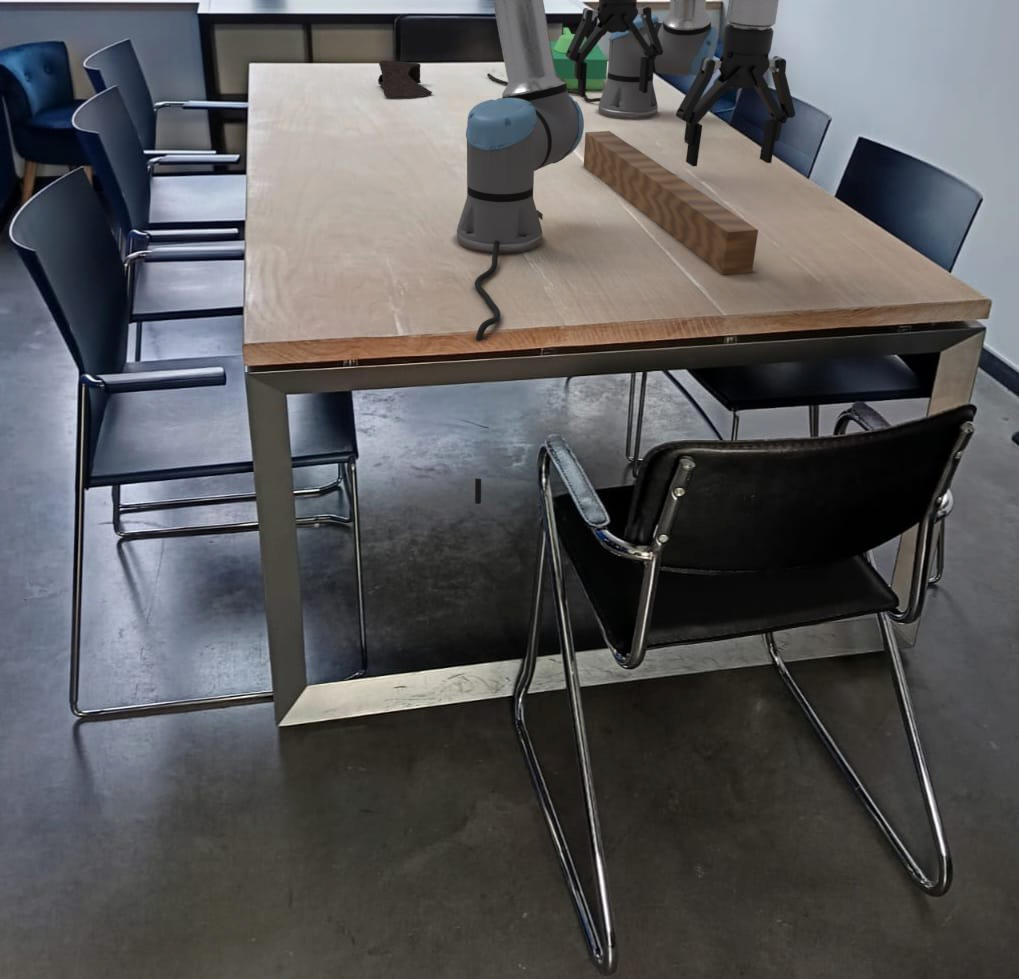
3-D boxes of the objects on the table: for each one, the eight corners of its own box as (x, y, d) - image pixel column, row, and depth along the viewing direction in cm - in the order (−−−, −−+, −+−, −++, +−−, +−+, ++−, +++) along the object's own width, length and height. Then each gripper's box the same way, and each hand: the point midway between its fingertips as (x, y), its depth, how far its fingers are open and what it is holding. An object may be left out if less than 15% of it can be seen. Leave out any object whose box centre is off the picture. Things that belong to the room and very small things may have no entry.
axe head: (443, 87, 294) (392, 77, 287) (436, 115, 299) (385, 106, 292) (421, 62, 307) (371, 52, 300) (414, 89, 311) (365, 80, 304)
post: (752, 272, 185) (758, 229, 181) (722, 274, 183) (728, 232, 179) (607, 165, 240) (609, 130, 236) (583, 166, 239) (585, 132, 235)
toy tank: (594, 24, 327) (608, 45, 298) (591, 67, 334) (605, 92, 304) (535, 23, 327) (543, 44, 297) (533, 66, 333) (541, 91, 303)
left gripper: (808, 20, 176) (784, 153, 187) (666, 21, 169) (650, 158, 181) (833, 29, 170) (806, 166, 181) (686, 30, 163) (668, 172, 175)
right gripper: (565, -14, 208) (561, 101, 219) (685, -19, 214) (675, 93, 226) (552, -20, 214) (549, 92, 225) (669, -24, 220) (660, 85, 232)
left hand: (728, 162), depth 181 cm, fingers open, 13 cm apart
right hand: (612, 93), depth 225 cm, fingers open, 13 cm apart
